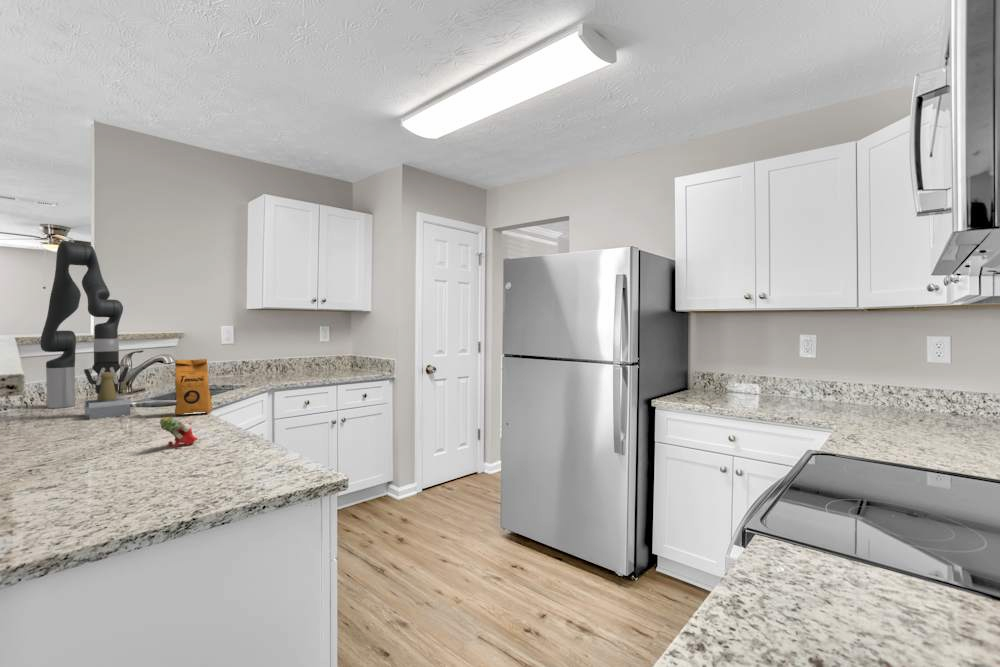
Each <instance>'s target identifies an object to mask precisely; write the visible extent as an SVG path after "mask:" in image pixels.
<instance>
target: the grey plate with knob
mask: <svg viewBox="0 0 1000 667" xmlns="http://www.w3.org/2000/svg"><path fill="white" fill-rule="evenodd" d="M84 404H85V405H84V416H85V415H86V416H87V417H88V418H89V419H95V420H98V419H97V418H104V419H107V418H106V417H113V418H115V417H114V416H121V417H123V416H122V415H130V416H131V405H130V399H128V398H127V399H125V396H122V397H121V396H120V397H117V399H115V400H105V401H98V400H97V399H90V400H89V399H88V400H84ZM86 416H85V417H86ZM87 417H86V418H87ZM88 418H87V419H88Z"/></svg>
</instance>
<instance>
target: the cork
mask: <svg viewBox="0 0 1000 667" xmlns="http://www.w3.org/2000/svg"><path fill="white" fill-rule="evenodd" d="M101 374H102V375H101V383H100V385H101V387H100V393H97V399H96V400H98V401H105V400H115V399H117V398H118V397H117V392H115V387H114V380H113V379H114V374H113V373H111V372H104V373H101ZM97 375H98V374H97ZM98 376H99V375H98Z"/></svg>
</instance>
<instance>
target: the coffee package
mask: <svg viewBox="0 0 1000 667" xmlns="http://www.w3.org/2000/svg"><path fill="white" fill-rule="evenodd" d="M174 363H175V380H174V385H175V386H174V389H175V400H176V401H175V407H174V414H175V415H176V414H184V413H193V412H205V413H207V414H206V415H209V414H210V413H211V412H212V394H211V392H210V385H209V375H208V374H209V372H208V371H209V369H208V359H207V358H198V359H175V362H174Z"/></svg>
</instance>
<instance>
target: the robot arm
mask: <svg viewBox="0 0 1000 667" xmlns="http://www.w3.org/2000/svg"><path fill="white" fill-rule="evenodd" d="M97 256H98V255H97V254H96V251H95V249H94V247H93V246H92V245H91V244H89V243H85V242H75V241H61V242H59V244H58V246H57V251H56V257H55V258H56V259H55V260H56V261H55V269H54V270H55V271H54V279H53V283H52V289H51V292H50V296H49V303H48V310H47V316H46V320H45V323H44V326H43V330H42V332H41V336H40V348H41V350H42V352H47V353H57V352H60V353H61V352H63V353H62V354H61V355H60V356H58V357H56V358H54V359H53V358H52V359H49V360H47V361H46V362H45V375H46V377H45V378H46V383H45V385H46V386H45V388H46V408H47V409H59V408H61V409H62V408H70V407H75V406H76V350H77V349H76V348H77V346H76V345H77V337H76V333H75V332H74V331H72V330H58V329H59V327H60V325H61V324H62V323H63V322H65V320H67V319H68V318H69V317H71V316H72V315H74V313H75V312H76V311H77V310H78V309H79V307H80V301H81V296H82V295H81V294H82V293H81V290H80V289H79V286H78V285H77V284H76V282H75V281H74V280H73V278H72V277H71V274H70V266H81V267H82V266H86V267H87V271H86V272H85V274H84V275H83V277H82V280H81V286H82V289H83V290H84V293H85V294H86V297H87V311H88V314H90V316H92V317H95V318H108V320H106V322H100V323H96V324H95V325H94V327H93V328H94V330H93V331H94V341H93V365H92V367H89V368H85V369H83V372H84V374H85V377H86V378H87V381H88V382H89V383H88V384H90V385H94V386H95V393H96V394H98V393H100V387H101V385H100V383H101V375H102V374H101V373H104V372H111V373H113V374H114V379H113V380H114V387H115V392H116V393H117V392H119V384H120V383H124V381H125V380H126V378H127V377H126V376H127V374H128V372H129V367H128V366H122V365H121V364H120V356H119V355H120V354H119V353H120V347H119V346H120V345H119V338H118V335H119V334H118V332H119V331H118V329H119V324H120V320H121V317H122V314H123V311H124V306H123V303H122V302H121V301H120V300H118V299H109V298H110V295H111V294H110V293H111V292H110V290H109V289H108V286H107V285H106V282H105V280H104V278H103V275H102V272H101V267H100V264H99V260H98V257H97ZM119 370H120V372H121V374H120V377H119V378H118V377H117V373H118V372H119ZM93 371H94V372H95V373H96V374H97V375H96V378H95V379H96V380H94V378H93V376H92V375H91V374H92V373H93ZM98 375H99V376H98Z"/></svg>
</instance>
